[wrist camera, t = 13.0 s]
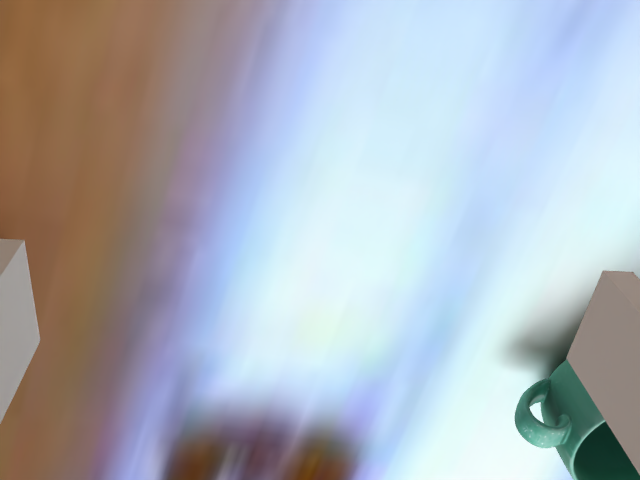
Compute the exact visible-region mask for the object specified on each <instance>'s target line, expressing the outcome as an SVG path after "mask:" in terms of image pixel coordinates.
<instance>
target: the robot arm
mask: <svg viewBox="0 0 640 480" xmlns="http://www.w3.org/2000/svg"><path fill="white" fill-rule="evenodd" d="M39 342H40V336H39V330H38V323H37V317H36V311H35V305H34V298H33V292H32V286H31V280H30V273H29V267H28V261H27V254H26V248H25V242H24V240H12V239H0V423H1V421H2V419H3V417H4V415H5V413H6V411H7V409H8V407H9V405H10V402H11V400H12V398H13V396H14V394H15V392H16V390H17V388H18V386H19V384H20V382H21V380H22V378H23V376H24V373H25V371H26V369H27V367H28V365H29V363H30V361H31V359H32V357H33V355H34V353H35V351H36V349H37V346H38V344H39ZM566 359H567V360H568V362H569V363H570V365H571V367H572V368H573V370H574V371H575V373H576V374H577V376H578V378H579V379H580V381H581V382H582V384H583V386H584V387H585V389H586V390H587V392H588V394H589V395H590V397H591V398H592V400H593V402H594V403H595V405H596V406H597V408H598V410H599V411H600V413H601V414H602V416H603V418H604V419H605V421H606V422H607V424H608V425H609V427H610V429H611V430H612V432H613V433H614V435H615V437H616V438H617V440H618V441H619V443H620V445H621V446H622V448H623V449H624V451H625V453H626V454H627V456H628V457H629V459H630V461H631V462H632V464H633V465H634V467H635V468H636V470H637V472H638V473H639V475H640V279H639V278H638V277H637V276H636V275H635V274H634V273H633V272H620V271H603V272H602V274H601V277H600V279H599V281H598V284H597V286H596V288H595V291H594V293H593V296H592V298H591V300H590V303H589V305H588V307H587V310H586V312H585V314H584V317H583V319H582V322H581V324H580V326H579V329H578V331H577V333H576V336H575V338H574V341H573V343H572V345H571V348H570V350H569V352H568V355H567V357H566Z"/></svg>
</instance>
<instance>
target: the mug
mask: <svg viewBox="0 0 640 480" xmlns="http://www.w3.org/2000/svg"><path fill="white" fill-rule="evenodd" d="M538 402H541V412H542V417H543V421H544V423H542V422H540V421H539V420H537V419H536V418H535V417H534V416H533V414H532V413H531V411H530V408H529V407H530V406H531V405H533V404H535V403H538ZM515 424H516V427H517V429H518V431H519V433H520V434H521V435H522V437H523V438H524V439H525V440H527V441H528V442H529V443H531V444H532V445H535V446H537V447H540V448H551V447H556V449H557V451H558V453H559V455H560V457H561V459H562V460H563V462H564V464H565V466H566V468H567V469H568V471H569V473H570V475H571V476H572V478H573V479H574V480H640V475H639V473H638V472H637V470H636V468H635V467H634V465H633V464H632V462H631V461H630V459H629V457H628V456H627V454H626V453H625V451H624V449H623V448H622V446H621V445H620V443H619V441H618V440H617V438H616V437H615V435H614V433H613V432H612V430H611V429H610V427H609V425H608V424H607V422H606V421H605V419H604V418H603V416H602V414H601V413H600V411H599V410H598V408H597V406H596V405H595V403H594V402H593V400H592V398H591V397H590V395H589V394H588V392H587V390H586V389H585V387H584V386H583V384H582V382H581V381H580V379H579V378H578V376H577V374H576V373H575V371H574V370H573V368H572V367H571V365H570V363H569V362H568V360H565V361H564V362H563V363H562V364H560V365H559V366H558V367H557V368H556V369H555V370H554V372H553V373H552V374H551V376H550V377H549V378H548V379H544V380H542V381H539V382H537V383H535V384H534V385H532V386H531V387H530V388H528V389H527V390H526V391H525V392H524V393H523V395H522V396H521V398H520V400H519V403H518V405H517V408H516V412H515Z"/></svg>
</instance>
